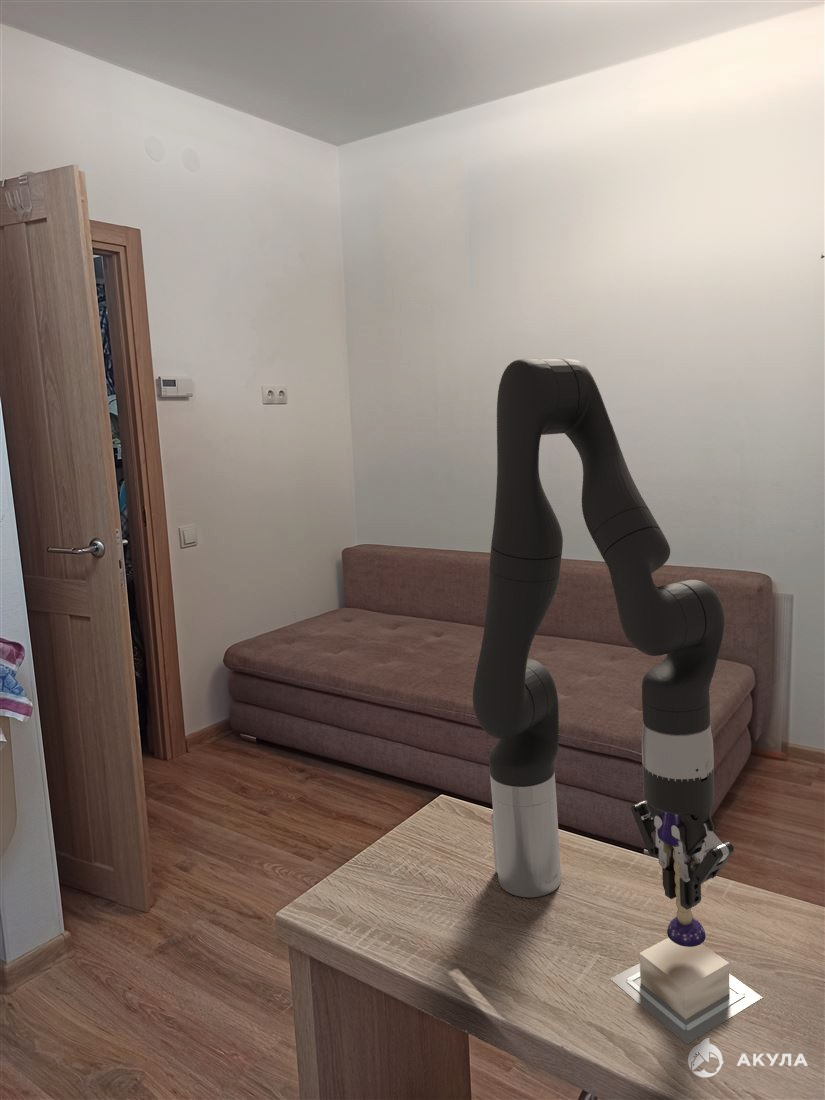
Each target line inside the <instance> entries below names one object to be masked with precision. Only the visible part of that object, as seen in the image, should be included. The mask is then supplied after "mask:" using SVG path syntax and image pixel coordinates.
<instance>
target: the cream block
mask: <svg viewBox="0 0 825 1100" xmlns="http://www.w3.org/2000/svg"><path fill="white" fill-rule="evenodd" d="M639 963H640V979H641V983H642V984H643V985H644V986H645V987H647V988H648V989H649V990H650V991H652V992H653V993H654V994H655V995H656V996H658V997H659V998H660V999H661V1000H662V1001H664V1002H665V1003H666V1004H667V1005H669V1006H670V1007H671V1008H672V1009H673V1010H675V1011H676V1012H677V1013H678V1014H679V1015H681V1016H682V1017H683V1018H684V1019H688V1018H689V1017H691V1016H693V1015H694V1014H696V1013H698V1012H699V1011H701V1010H703V1009H704V1008H706V1007H708V1006H709V1005H711V1004H713V1003H714V1002H716V1001H718V1000H719V999H721V998H723V997H725V996H726V995H728V994H730V984H729V974H730V962H728V961H727V960H726V959H724V958H722V957H721V956H720V955H718V954H717V953H715V952H714V951H713V950H711V949H710V948H709V947H708V946H706V945H704V944H703V943H702V944H700V945H698V946H694V947H685V946H680V945H678V944H676V943H674V942H673V941H671V940H670V939H669V937H667V938H665V939H663V940H661V941H659V942H658V943H655V944H654V945H652V946H650V947H648V948H647V949H644V950H643V951H641V952H639Z"/></svg>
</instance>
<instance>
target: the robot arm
mask: <svg viewBox="0 0 825 1100" xmlns="http://www.w3.org/2000/svg"><path fill="white" fill-rule="evenodd" d="M496 399H497V402H496V455H497V457H496V458H497V459H496V461H497V463H496V466H497V467H496V491H495V506H494V517H493V519H494V520H493V527H492V535H491V537H492V538H491V545H490V556H489V567H488V568H489V570H488V574H489V575H488V588H487V598H486V608H485V617H484V627H483V634H482V641H481V645H480V646H481V647H480V651H479V656H478V661H477V667H476V671H475V676H474V683H473V689H472V706H473V712H474V715H475V718H476V720H477V723H478V724H479V726H480V728H481V729H482V730H483V731H484V732H485V733H486V734H487V735H489V736H490V737H491V738H495V739H499V740H498V741H497V743H496V744H495V745H494V747H493V748H492V749H491V751H490V754H489V758H488V764H489V767H488V768H489V777H490V789H491V790H490V791H491V799H492V800H491V802H492V803H491V804H492V813H491V816H490V819H491V833H492V844H493V845H492V847H493V858H494V859H493V860H494V871H495V872H496V873H497V880H498V884H499V886H500V887H501V888H502V889H503V890H504V892H507V893H509V894H510V895H514V896H516V897H522V898H538V897H543V896H546V895H550V894H551V893H553V892H554V891H555V890H557V889H558V888H559V886H560V885H561V882H562V875H561V874H562V872H561V871H562V870H561V869H562V868H561V853H560V851H561V850H560V835H559V821H558V819H559V817H558V808H557V807H558V805H557V804H558V803H557V789H556V774H555V762H556V758H557V755H558V752H559V745H560V741H559V739H560V735H559V734H560V732H559V728H560V727H559V726H560V725H559V723H560V722H559V717H560V716H559V698H558V691H557V686H556V684H555V681H554V678H553V677H552V674H551V672H550V671H549V670H548V669H547V668H546V666H544V664H542V663H540V661H538V660H536V659H532V658H529V653H530V649H531V646H532V643H533V641H534V639H535V636H536V634H537V632H538V630H539V628H540V627H541V626H540V625H541V624H542V623H543V620H544V618H545V616H546V613H547V611H548V610H549V608H550V606H551V603H552V602H553V599H554V596H555V594H556V592H557V588H558V584H559V579H560V574H561V565H562V564H561V563H562V555H563V542H564V540H563V539H564V538H563V532H562V528H561V525H560V522H559V520H558V517H557V516H556V513H555V511H554V509H553V506H552V505H551V503H550V501H549V499H548V496H547V495H546V493H545V491H544V488H543V485H542V482H541V477H540V470H539V469H540V467H539V465H540V464H539V461H540V460H539V459H540V443H541V438H542V436H545V435H559V434H564V435H566V437H567V438H568V439H569V440H570V441H571V444H573V447H575V449H576V450H577V452H578V455H579V457H580V460H581V464H582V473H583V474H582V489H581V511H582V516H583V518H584V522H585V525H586V528H587V531H588V532H589V535H590V536H591V539H592V540H593V543H594V544H595V546H596V548H597V549H598V552H599V553H600V556H601V557H602V559H603V561H604V563H605V564H606V566H607V568H608V572H609V575H610V580H611V583H612V588H613V592H614V596H615V601H616V606H617V611H618V617H619V621H620V625H621V628H622V631H623V634H624V635H625V637H626V639H628V641H629V642H630V644H631V645H632V646H633V647H634V648H635V649H637V650H638V651H639V652H641V653H643V654H645V655H648V656H652V657H659V656H665V655H666V657H664V659H663V660H662V661H661V662H660V663H658V664H657V665H656V666H654V667H652V668H651V669H649V670H648V672H646V673H645V675H644V676H643V678H642V683H641V703H642V705H641V709H642V732H641V758H642V759H641V762H642V763H641V764H642V765H641V766H642V785H643V787H642V788H643V797H644V800H642V801H639V802H638V803H637V802H636V803H635V804H633V805H631V808H630V809H631V812H632V815H633V817H634V820H635V822H636V824H637V828H638V830H639V833H640V835H641V837H642V840H643V843H644V844H645V847H646V851H647V853H648V854H649V856H651V857H656V858H657V859H658V864H659V867H661V868H662V869H661V871H662V872H661V873H662V874H661V875H662V887H663V890H664V896H665V897H666V898H668V899H670V900H673V899H675V898H677V896H676V894H675V887H676V884H675V871H674V862H675V861H674V858H673V850H674V848H673V846H670V845H667V844H665V843H664V842H662V841H661V840H660V839H659V838H658V834H657V831H658V829H659V828H660V827H661V825H662V816H661V811H662V812H665V813H669V814H675V815H679V818H680V822H679V823H678V824H675V825H673V826H672V827H671V831H672V836H673V837H674V838H675V839H677V840H678V844H679V846H678V847H675V857H676V860H678V861H679V864H680V875H681V878H680V905H681V906H682V907H683V908H685V909H686V910H688V909H690V908H691V909H693V908H694V907H696V906H697V905H698V904H700V903H701V900H702V884H704V883H705V882H707V881H708V880H712V879H714V878H715V877H717V876H718V874H719V873H720V872H721V870H722V869H723V867H724V866H725V864H726V863H727V862H728V860H729V859H730V857H731V856H732V855H733V853H734V851H735V849H734V846H733V845H732V843H731V842H729V841H726V842H722V840H720V838H719V837H718V836H717V834H716V833H715V831H714V830H715V826H714V823H713V820H712V817H711V810H712V808H713V805H714V802H715V764H714V763H715V760H714V759H715V757H714V756H715V755H714V739H713V733H712V730H711V728H712V727H711V726H712V725H711V707H710V706H711V703H710V699H711V698H710V697H711V696H710V687H711V682H712V681H713V677H714V674H715V671H716V670H715V669H716V667H717V666H716V665H717V662H718V659H719V654H720V649H721V645H722V643H723V642H722V641H723V637H724V632H725V613H724V608H723V604H722V602H721V600H720V597H719V595H718V594H717V593H716V591H715V590H714V588H713V587H711V586H710V585H709V584H708V583H706V582H704V581H702V580H698V579H686V580H681V581H677V582H673V583H669V584H665V585H660V586H657V585H656V584H655V581H654V580H653V576H652V574H653V573H654V572H656V571H658V570H659V569H661V568H662V567H663V566H664V565H666V563H667V561H669V558H670V556H671V548H670V547H671V546H670V544H669V541H668V540H667V538H666V536H665V534H664V533H663V530H662V529H661V527H660V526H659V524H658V522H657V520H656V519H655V517H654V515H653V514H652V512H651V510H650V508H649V506H648V505H647V502H646V501H645V500H644V498H643V496H642V495H641V492H640V491H639V489H638V487H637V485H636V483H635V481H634V479H633V477H632V475H631V473H630V472H631V471H630V470H629V468H628V465H627V462H626V459H625V457H624V454H623V452H622V449H621V446H620V444H619V443H620V442H619V440H618V438H617V435H616V432H615V429H614V427H613V424H612V421H611V419H610V416H609V414H608V410H607V408H606V405H605V403H604V400H603V397H602V395H601V392H600V389H599V387H598V385H597V383H596V380H595V379H594V376H593V375H592V373H591V371H590V370H589V369H588V368H587V366H586V365H585V364H583V363H582V362H581V361H580V360H577V359H574V358H573V359H572V358H566V357H565V358H563V357H562V358H521V359H516V360H513V361H512V362H510V363H509V364H508V365H507V366H506V367H505V369H504V370H503V373H502V375H501V378H500V381H499V385H498V390H497V398H496ZM652 833H654V834H655V841H654V838H653V836H652ZM691 864H692V865H691Z"/></svg>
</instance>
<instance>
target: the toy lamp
mask: <svg viewBox="0 0 825 1100" xmlns="http://www.w3.org/2000/svg"><path fill="white" fill-rule="evenodd" d="M661 816H662V825H661V827H660V828H659V829H658V831H657V834H658V838H659V839H660V840H661V841H662V842H664V843H665V844H667V845H670V846H673V848H674V850H673V858H674V861H675V862H674V871H675V884H676V887H675V894H676V896H677V897H676V899H675V907H676V917H674V918H672V919H671V921H670V922H669V923H668V926H667V929H666V934H667V938H669V939H670V940H671V941H673V942H674V943H676V944H678V945H680V946H685V947H694V946H698V945H700V944H703V943H704V942H705V941H706V938H707V935H706V931H705V929H704V927H703V925H702V923H701V922H700V921H699V920H697V919H696V918H694V914H693V911H692V908H690V909H688V910H686V909H685V908H683V907H682V906H681V905H680V878H681V875H680V864H679V861H678V860H676V857H675V847H678V846H679V844H678V840H677V839H675V838H674V837H673V836H672V831H671V827H672V826H673V825H675V824H678V823H679V822H680V818H679V815H675V814H669V813H665V812H662V811H661Z"/></svg>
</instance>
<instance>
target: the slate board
mask: <svg viewBox="0 0 825 1100" xmlns="http://www.w3.org/2000/svg"><path fill="white" fill-rule="evenodd" d="M609 979H610V981H612V982H613V983H614V984H615V985H616V986H617V987H619V988H620V990H622V991H623V992H625V994H627V995H628V996H629V997H630V998H632V1000H634V1001H635V1002H636V1003H637V1004H639V1005H640V1006H641V1007H642V1008H643V1009H644V1010H645V1011H646V1012H648V1013H649V1014H650V1015H651V1016H653V1017H654V1018H655V1019H656V1020H657V1021H658V1022H659V1023H661V1024H662V1025H663V1026H664V1027H665V1028H666V1029H668V1030H669V1032H671V1033H672V1034H673V1035H675V1036H676V1037H677V1038H678V1039H679V1040H680V1041H682V1042H683V1043H684V1044H685V1045H689V1044H690V1043H692V1042H693V1041H695V1040H697V1039H699V1038H701V1036H702V1037H703V1035H705V1034H707V1033H708V1032H710V1031H712V1030H713V1029H715V1028H716V1027H718V1026H719V1025H721V1024H722V1023H724V1022H726V1021H728V1020H729V1019H730V1018H732V1017H735V1016H736V1015H738V1014H739V1013H740V1012H742V1011H744V1010H745V1009H747V1008H749V1007H750V1006H752V1005H753V1004H755V1003H757V1002H759V1001H760V1000H762V999H763V998H764V997H763V996H761V995H760V994H758V992H756V991H754V990H753V989H752V988H750V986H747V985H746V984H745V983H743V982H742V981H740V980H739V979H738V978H736V977H735V976H733V975H732V974H731V973H729V984H730V994H728V995H726V996H725V997H723V998H721V999H719V1000H718V1001H716V1002H714V1003H713V1004H711V1005H709V1006H708V1007H706V1008H704V1009H703V1010H701V1011H699V1012H698V1013H696V1014H694V1015H693V1016H691V1017H689V1018H688V1019H684V1018H683V1017H682V1016H681V1015H679V1014H678V1013H677V1012H676V1011H675V1010H673V1009H672V1008H671V1007H670V1006H669V1005H667V1004H666V1003H665V1002H664V1001H662V1000H661V999H660V998H659V997H658V996H656V995H655V994H654V993H653V992H652V991H650V990H649V989H648V988H647V987H645V986H644V985H643V984H642V983H641V979H640V962H639V963H637V964H636V965H633V966H631V967H629V968H628V969H626V970H623V971H622V972H620V973H618V974H617V975H614V976H613V977H611V978H609Z"/></svg>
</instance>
